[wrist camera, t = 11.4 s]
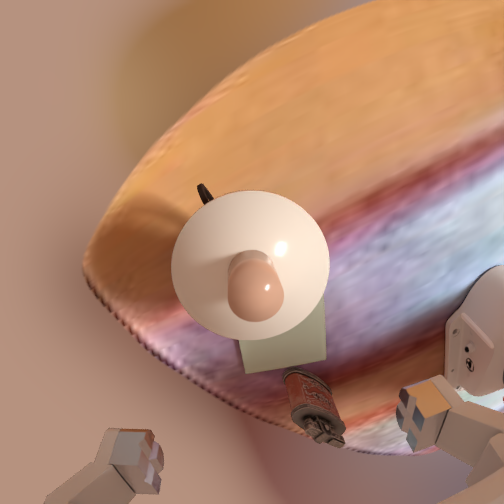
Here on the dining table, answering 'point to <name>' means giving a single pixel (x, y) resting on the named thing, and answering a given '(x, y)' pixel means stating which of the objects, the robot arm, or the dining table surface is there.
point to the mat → (288, 345)
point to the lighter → (313, 407)
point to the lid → (250, 265)
